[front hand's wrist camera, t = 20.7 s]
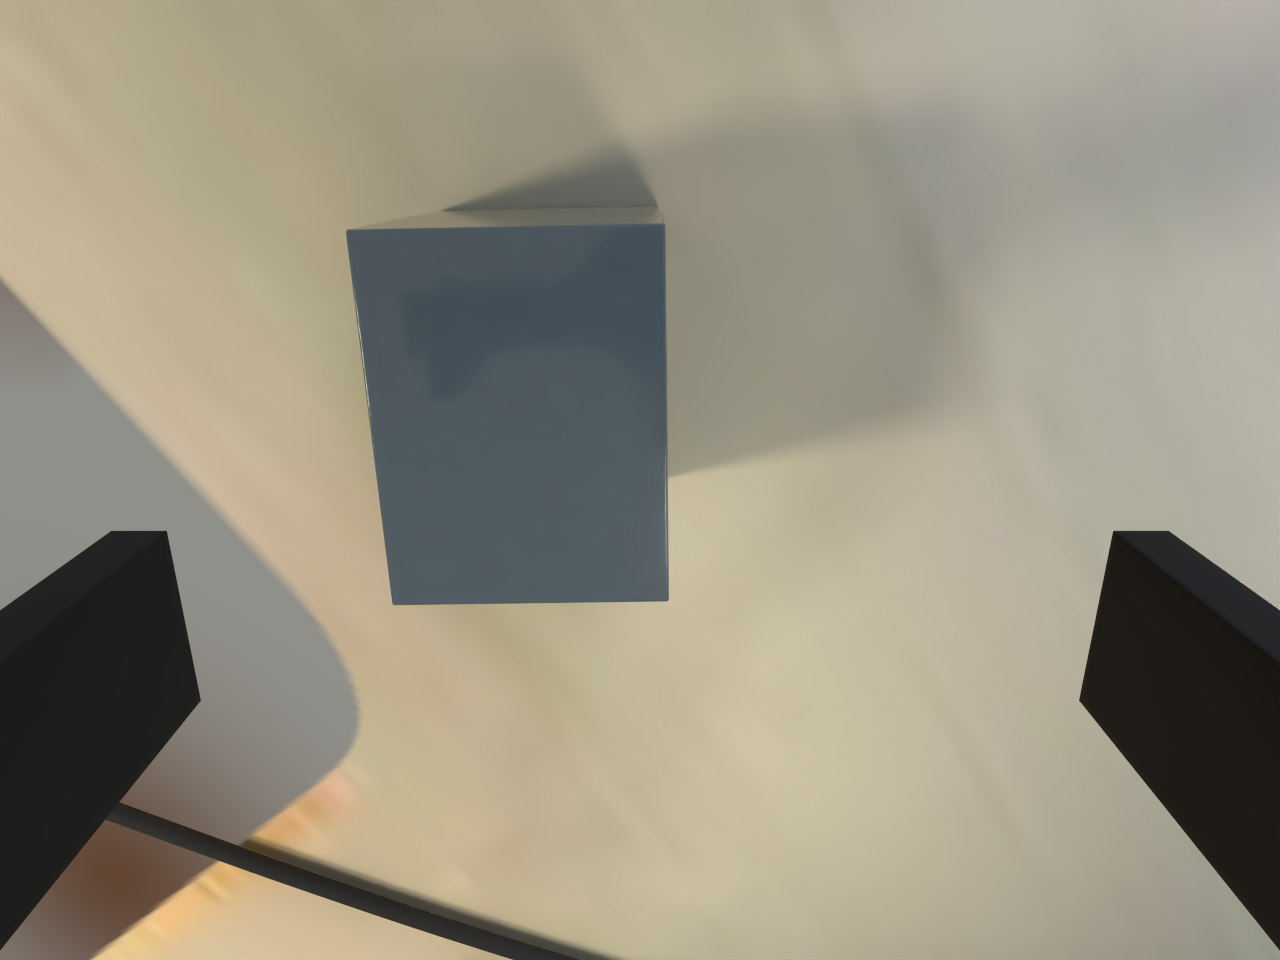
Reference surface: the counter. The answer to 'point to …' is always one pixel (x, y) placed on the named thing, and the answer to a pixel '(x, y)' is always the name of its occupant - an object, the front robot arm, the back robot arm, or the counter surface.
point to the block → (518, 402)
